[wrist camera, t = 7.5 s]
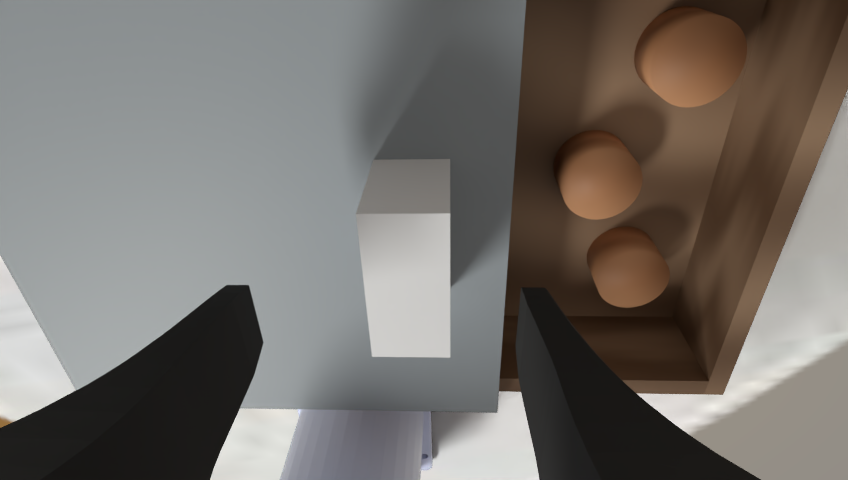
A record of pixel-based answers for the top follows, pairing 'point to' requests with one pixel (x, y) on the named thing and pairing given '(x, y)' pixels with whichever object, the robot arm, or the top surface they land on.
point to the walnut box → (665, 172)
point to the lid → (269, 186)
